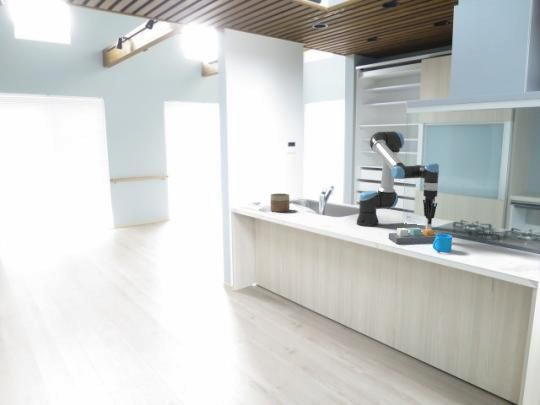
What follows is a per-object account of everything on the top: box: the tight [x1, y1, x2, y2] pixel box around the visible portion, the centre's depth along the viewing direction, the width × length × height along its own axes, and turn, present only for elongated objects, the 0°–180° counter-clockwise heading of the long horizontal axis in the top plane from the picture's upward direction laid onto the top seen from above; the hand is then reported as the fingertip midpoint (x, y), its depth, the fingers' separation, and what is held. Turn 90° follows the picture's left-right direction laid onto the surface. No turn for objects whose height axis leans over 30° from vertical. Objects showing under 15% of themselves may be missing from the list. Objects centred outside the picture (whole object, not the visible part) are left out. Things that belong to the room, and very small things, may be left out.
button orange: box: [422, 228, 435, 236], centre depth 236 cm, size 5×5×4 cm
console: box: [388, 231, 438, 245], centre depth 236 cm, size 12×28×4 cm, turn 95°
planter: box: [270, 192, 290, 213], centre depth 336 cm, size 16×16×14 cm
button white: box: [396, 227, 409, 237], centre depth 235 cm, size 5×5×4 cm
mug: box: [432, 233, 453, 253], centre depth 214 cm, size 12×8×8 cm
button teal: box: [409, 227, 423, 236], centre depth 235 cm, size 5×5×4 cm
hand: (428, 228), depth 236 cm, fingers closed
